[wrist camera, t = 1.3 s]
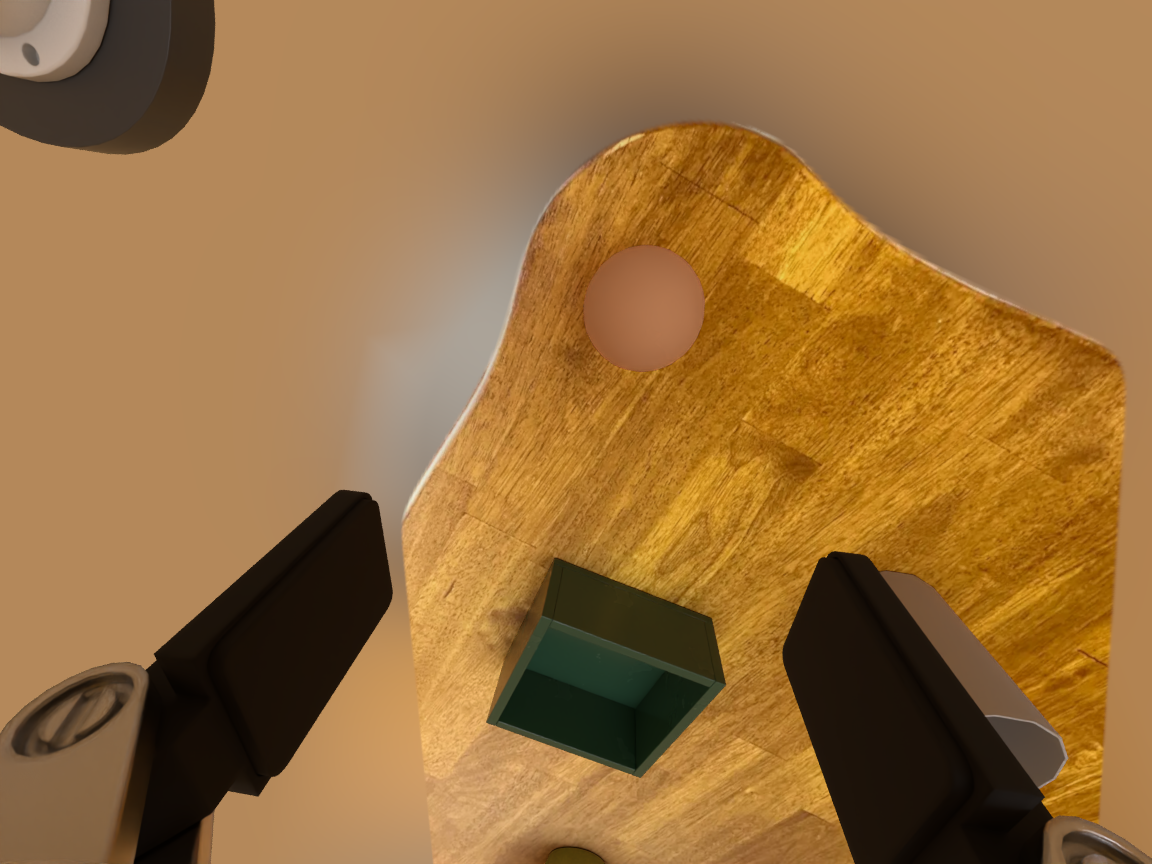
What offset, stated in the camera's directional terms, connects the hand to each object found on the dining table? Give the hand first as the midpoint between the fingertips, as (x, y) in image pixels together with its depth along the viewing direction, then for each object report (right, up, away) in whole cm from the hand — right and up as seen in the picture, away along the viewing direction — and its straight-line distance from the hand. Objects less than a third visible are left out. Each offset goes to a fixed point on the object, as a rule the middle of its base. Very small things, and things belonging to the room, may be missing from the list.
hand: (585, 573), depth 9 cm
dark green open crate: (+2, -15, +27) cm, 31 cm away
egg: (+4, +11, +15) cm, 19 cm away
